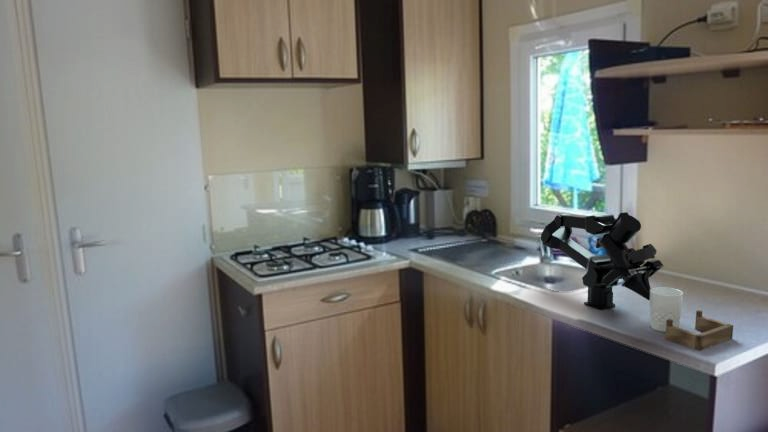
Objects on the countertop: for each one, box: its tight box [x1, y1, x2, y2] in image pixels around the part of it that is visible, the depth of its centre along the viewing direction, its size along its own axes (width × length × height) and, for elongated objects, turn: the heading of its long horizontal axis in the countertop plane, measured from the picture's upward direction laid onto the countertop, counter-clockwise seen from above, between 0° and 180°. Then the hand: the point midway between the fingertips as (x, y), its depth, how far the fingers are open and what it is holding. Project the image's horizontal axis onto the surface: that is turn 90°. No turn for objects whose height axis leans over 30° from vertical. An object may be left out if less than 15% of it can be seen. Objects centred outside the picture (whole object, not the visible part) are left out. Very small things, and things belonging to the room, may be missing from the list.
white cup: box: [649, 286, 684, 333], centre depth 155 cm, size 8×8×10 cm
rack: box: [664, 309, 734, 352], centre depth 147 cm, size 9×13×5 cm
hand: (651, 299), depth 158 cm, fingers closed
